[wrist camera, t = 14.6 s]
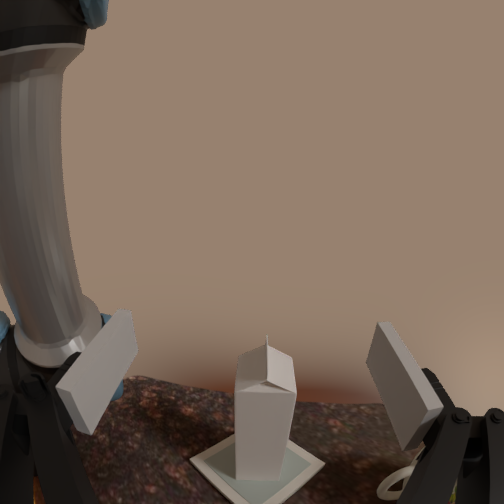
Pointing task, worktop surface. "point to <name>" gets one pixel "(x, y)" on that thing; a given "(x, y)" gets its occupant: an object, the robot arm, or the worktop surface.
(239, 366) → the milk
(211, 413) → the worktop surface
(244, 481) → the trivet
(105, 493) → the worktop surface
